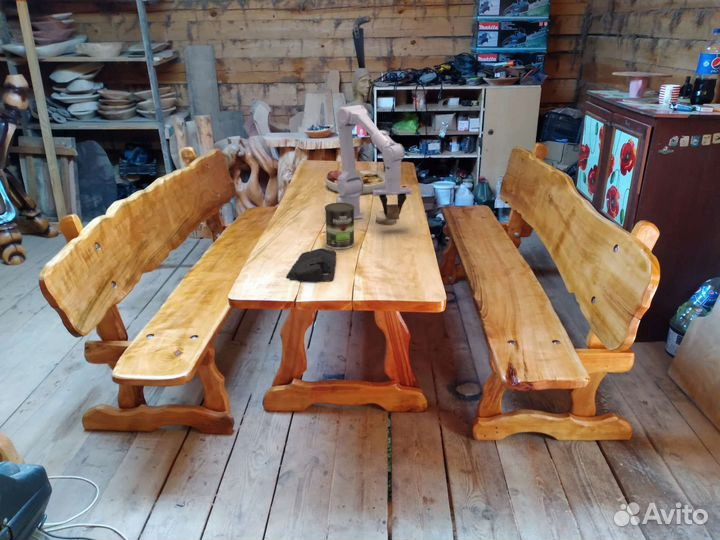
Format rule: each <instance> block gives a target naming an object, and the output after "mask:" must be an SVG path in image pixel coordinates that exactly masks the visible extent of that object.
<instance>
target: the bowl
mask: <svg viewBox="0 0 720 540" xmlns="http://www.w3.org/2000/svg"><path fill="white" fill-rule="evenodd" d="M356 171H357V172H358V173H360V174H361V178H362V181H363V184H364V189H363V191H362V192H361V195H368V194H373V190H378V189H384V188H385V173H383V172H379V171H376V170H367V169H357V168H356ZM342 172H343V170H339V169H338V170H337V169H336V170H330V171H329V172H328V173H327V174H326V176H325V183H326V185H327V187H328V188H329V189H330V190H331V191H333V192H334V191H335V192H337V193H339V192H338V190H337V185H338V177H339V176H340V175H341V173H342Z"/></svg>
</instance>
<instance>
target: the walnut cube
mask: <svg viewBox="0 0 720 540" xmlns="http://www.w3.org/2000/svg"><path fill="white" fill-rule="evenodd" d="M385 217H386V219H387V220H396V221H397V220H400V214H399V206H398V203H391V204H387V215H385Z"/></svg>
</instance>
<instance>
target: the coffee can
mask: <svg viewBox="0 0 720 540" xmlns="http://www.w3.org/2000/svg"><path fill="white" fill-rule="evenodd" d="M324 210H325V211H324V212H325V242H326V243H325V245H326V247H328V248H330V249H331V250H347V249H351V248H352V247H354V246H355V219H354V206H353V205H352V204H348V203H337V202H332V203H329V204H326V205H325V206H324ZM350 247H351V248H350Z"/></svg>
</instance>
